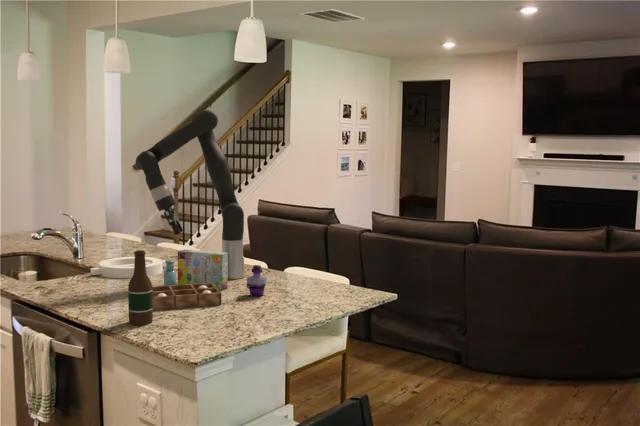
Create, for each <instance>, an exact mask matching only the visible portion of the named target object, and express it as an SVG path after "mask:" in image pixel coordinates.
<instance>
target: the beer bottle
mask: <svg viewBox="0 0 640 426" xmlns="http://www.w3.org/2000/svg"><path fill="white" fill-rule="evenodd" d="M133 255H134V257H135V263H134V274H133V277H132V278H130V279H129V282H128V284H127V285H128V289H127V293H128V294H127V297H128V300H127V301H128V302H127V303H128V322H129V325H131V326H136V327H139V326H140V327H141V326H148V325H150V324H152V323H153V320H154V319H153V318H154V316H153V315H154V314H153V311H154V310H153V295H152V287H153V283H152V281H151V279H150V277H149V276H147V273H146V264H145V257H146V255H147V254H146V251H145V250H142V249H140V250H139V249H138V250H134V252H133Z"/></svg>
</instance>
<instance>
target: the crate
mask: <svg viewBox="0 0 640 426" xmlns="http://www.w3.org/2000/svg"><path fill="white" fill-rule="evenodd" d="M202 285H204V286H207V288H199V287H200V286H202ZM198 288H199V289H198ZM205 290H209V291H211V292H212V293H203V292H204V291H205ZM160 293H164V294H166V295H167V296H159V297H157V295H158V294H160ZM202 293H203V294H202ZM152 295H153V311H158V310H159V311H160V310H172V309H185V308H186V309H187V308H197V307H200V306H201V307H213V306H214V307H215V306H221V305H222V292H221V290H219V289H218V288H217V287H216V286H215V285H214V284H213V283H201V284H185V285H178V284H176V285H169V286H164V285H157V286H156V285H155V286H153V285H152Z"/></svg>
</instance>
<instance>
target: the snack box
mask: <svg viewBox="0 0 640 426" xmlns="http://www.w3.org/2000/svg"><path fill="white" fill-rule="evenodd" d="M228 280H229V279H228V253H224V252H222V251H207V250H196V249H195V250H193V249H181V250H178V251H177V285H185V284H201V283H213V284H214V285H215V286H216V287H217V288H218V289H219V291H223V290H227V289H228V287H229V285H228V284H229V283H228V282H229V281H228Z"/></svg>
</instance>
